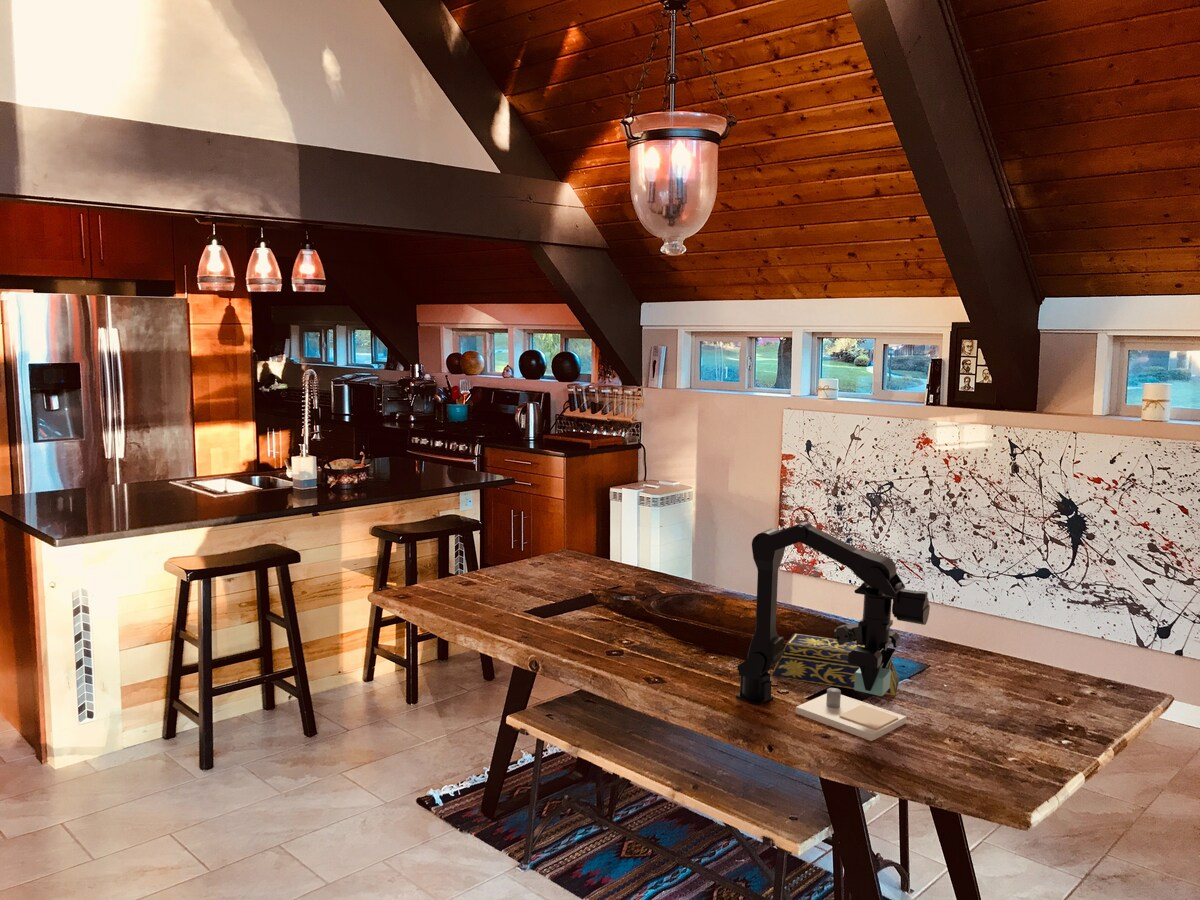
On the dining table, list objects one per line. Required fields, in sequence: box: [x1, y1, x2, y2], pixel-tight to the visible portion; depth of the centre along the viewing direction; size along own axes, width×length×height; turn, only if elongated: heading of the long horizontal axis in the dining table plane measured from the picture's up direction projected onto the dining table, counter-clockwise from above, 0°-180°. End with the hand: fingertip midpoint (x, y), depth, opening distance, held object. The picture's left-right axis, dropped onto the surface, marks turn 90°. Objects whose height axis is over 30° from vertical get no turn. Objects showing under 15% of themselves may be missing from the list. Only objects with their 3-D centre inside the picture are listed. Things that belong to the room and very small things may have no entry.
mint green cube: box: [853, 668, 891, 697], centre depth 206 cm, size 6×6×4 cm
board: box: [795, 687, 907, 742], centre depth 210 cm, size 19×14×5 cm
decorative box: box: [770, 633, 900, 696], centre depth 234 cm, size 11×30×9 cm, turn 68°
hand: (872, 685), depth 206 cm, fingers closed on mint green cube, 6 cm apart
